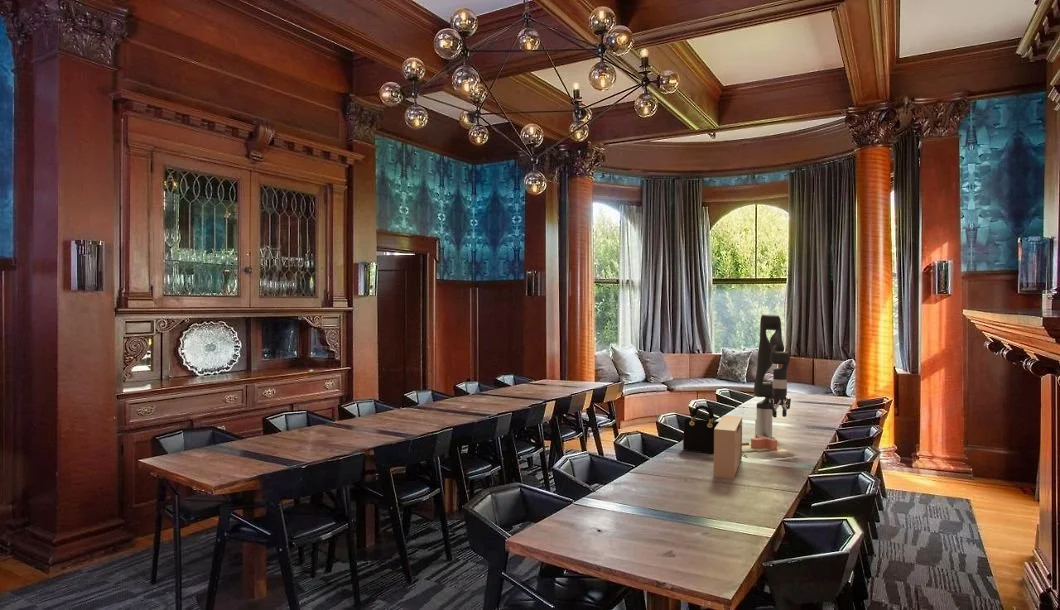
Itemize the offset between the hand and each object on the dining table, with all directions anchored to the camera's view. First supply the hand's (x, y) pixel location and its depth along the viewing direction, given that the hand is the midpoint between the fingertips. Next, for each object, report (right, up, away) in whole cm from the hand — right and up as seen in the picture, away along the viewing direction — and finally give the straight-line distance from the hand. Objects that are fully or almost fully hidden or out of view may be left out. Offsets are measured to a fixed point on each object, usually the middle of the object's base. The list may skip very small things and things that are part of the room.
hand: (779, 416), depth 359 cm
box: (-42, -18, -44) cm, 63 cm away
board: (-17, -17, -5) cm, 25 cm away
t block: (-12, -16, -4) cm, 20 cm away
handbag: (-46, -17, -9) cm, 50 cm away
